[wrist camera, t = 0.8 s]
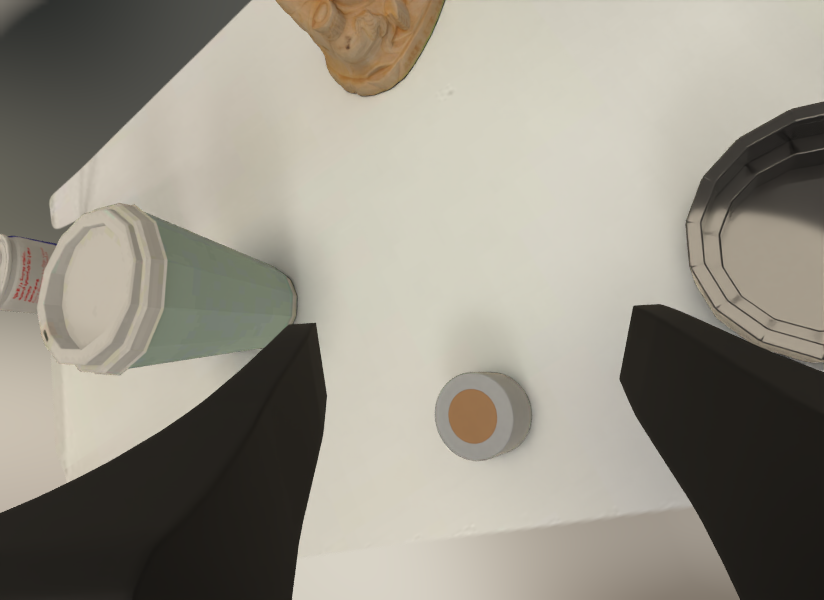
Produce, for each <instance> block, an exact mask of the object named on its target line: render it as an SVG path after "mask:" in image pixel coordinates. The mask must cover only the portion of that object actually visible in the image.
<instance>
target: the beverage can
mask: <svg viewBox="0 0 824 600" xmlns="http://www.w3.org/2000/svg"><path fill="white" fill-rule="evenodd" d="M56 246H57V244H55V243H49V242H44V241H39V240H34V239H29V238H23V237H18V236H8V237H7V236H6V235H4V234H0V310H1V311H12V312H23V313H35V314H38V313H37V304H38V299H39V294H40V289H41V284H42V279H43V274H44V270H45V268H46V266H47V264H48V262H49V260H50V258H51V256H52V254H53V252H54V250H55V248H56Z"/></svg>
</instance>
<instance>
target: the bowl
mask: <svg viewBox="0 0 824 600" xmlns="http://www.w3.org/2000/svg"><path fill="white" fill-rule="evenodd" d="M686 235H687V246H688V257H689V266H690V270H691V273H692V276H693V279H694V282H695V284H696V286H697V287H698V289H699V291H700V292H701V294H702V296H703V297H704V299H705V301H706V302H707V304H708V306H709V307H710V309H711V311H712V312H713V314H714V316H715V317H716V318H717V319H718V320H719V321H721V322H722V323H724V324H725V325H726V326H728V327H729V328H730V329H732V330H733V331H734V332H736V333H737V334H739V335H740V336H741V337H743V338H744V339H745V340H747V341H748V342H750V343H753V344H755V345H757V346H759V347H762V348H764V349H766V350H769V351H772V352H775V353H778V354H781V355H785V356H788V357H791V358H795V359H798V360H801V361H805V362H810V363H813V362H824V102H820V103H815V104H811V105H807V106H802V107H798V108H793V109H791V110H788V111H786V112H784V113H783V114H781V115H779V116H777V117H776V118H774V119H772V120H770V121H768V122H767V123H765V124H763V125H761V126H759V127H758V128H756V129H754V130H752V131H751V132H749V133H747V134H745V135H743V136H742V137H740V138H739V139H737V140H736V141H735V142H734V143H733V144H732V145H731V146H730V148H729V149H728V150H727V151H726V152H725V153H724V154H723V155H722V156H721V157H720V159H719V160H718V161H717V162H716V163H715V164H714V165H713V166H712V167H711V168H710V170H709V171H708V172H707V173H706V174H705V175H704V176H703V178H702V179H701V181H700V184H699V187H698V190H697V192H696V195H695V198H694V200H693V203H692V206H691V209H690V211H689V214H688V217H687V219H686Z"/></svg>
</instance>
